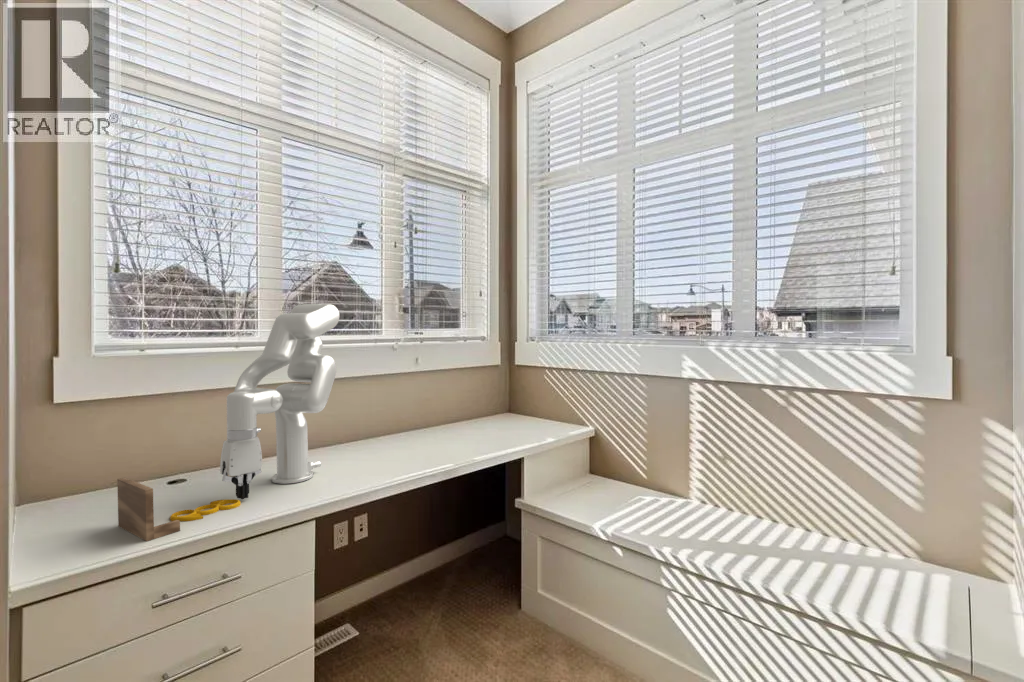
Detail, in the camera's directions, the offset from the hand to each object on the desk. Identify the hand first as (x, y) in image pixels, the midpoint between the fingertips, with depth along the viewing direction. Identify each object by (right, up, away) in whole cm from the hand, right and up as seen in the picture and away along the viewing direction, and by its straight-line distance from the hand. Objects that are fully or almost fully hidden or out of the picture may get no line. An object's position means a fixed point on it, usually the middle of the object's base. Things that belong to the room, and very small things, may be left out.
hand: (242, 497), depth 140 cm
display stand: (-13, -1, -19) cm, 23 cm away
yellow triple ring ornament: (-5, -2, -8) cm, 10 cm away
